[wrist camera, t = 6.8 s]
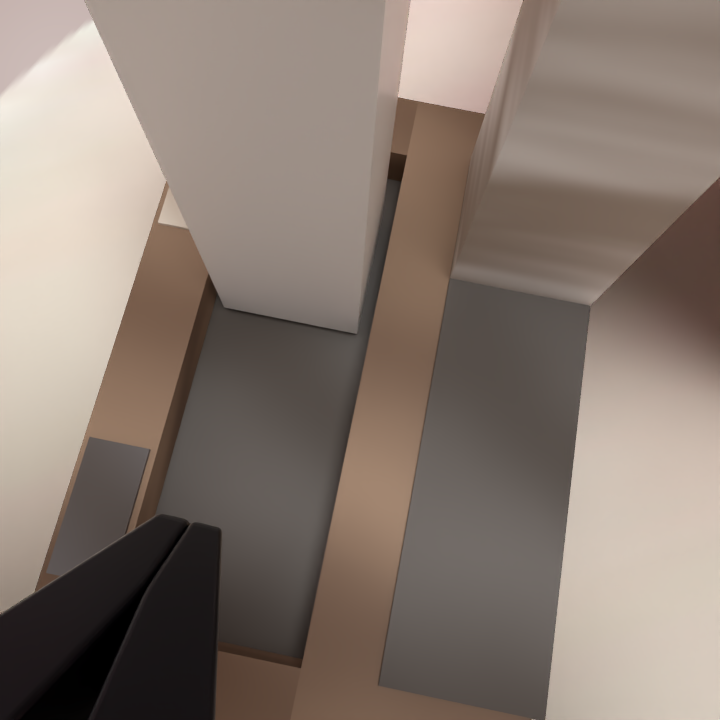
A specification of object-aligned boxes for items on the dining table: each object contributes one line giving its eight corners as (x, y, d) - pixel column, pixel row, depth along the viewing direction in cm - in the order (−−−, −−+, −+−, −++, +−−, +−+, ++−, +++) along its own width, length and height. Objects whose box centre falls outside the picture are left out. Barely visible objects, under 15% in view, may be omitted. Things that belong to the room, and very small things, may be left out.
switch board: (516, 788, 15) (1162, 1625, 3) (32, 683, 15) (-980, 1102, 4) (589, 168, 19) (968, -419, 8) (214, 96, 20) (35, -574, 8)
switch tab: (358, 336, 17) (396, -64, 6) (221, 308, 17) (14, -134, 6) (384, 213, 18) (457, -322, 7) (255, 187, 18) (127, -380, 7)
